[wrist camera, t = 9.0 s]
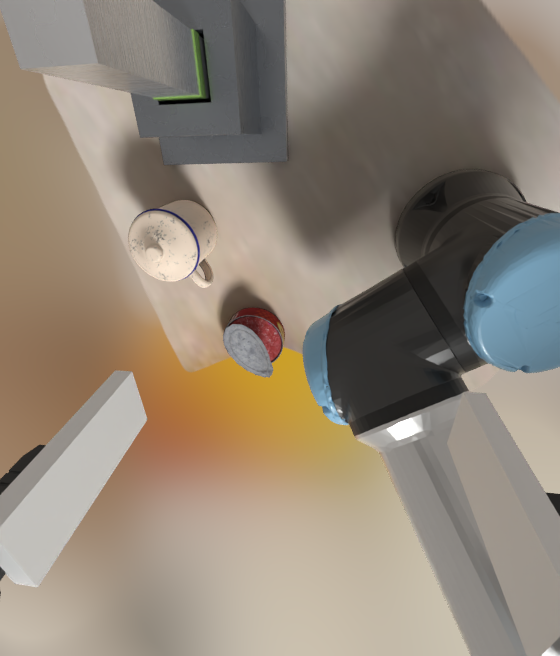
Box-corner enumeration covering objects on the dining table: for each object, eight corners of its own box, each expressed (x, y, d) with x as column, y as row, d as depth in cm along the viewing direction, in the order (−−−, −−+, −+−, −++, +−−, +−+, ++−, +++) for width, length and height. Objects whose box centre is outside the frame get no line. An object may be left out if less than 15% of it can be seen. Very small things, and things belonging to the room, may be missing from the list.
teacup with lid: (146, 220, 48) (98, 241, 38) (192, 183, 45) (152, 197, 35) (198, 285, 53) (167, 320, 43) (243, 257, 49) (221, 288, 39)
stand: (285, -14, 34) (265, -78, 24) (288, 160, 42) (274, 168, 32) (140, 1, 36) (63, -53, 26) (169, 164, 44) (119, 172, 34)
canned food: (276, 341, 62) (262, 391, 57) (226, 320, 60) (206, 369, 54) (302, 315, 52) (288, 371, 47) (243, 288, 50) (222, 345, 45)
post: (214, 45, 31) (68, -69, 14) (220, 102, 33) (100, 65, 16) (170, 49, 31) (-24, -57, 14) (178, 104, 34) (19, 71, 16)
